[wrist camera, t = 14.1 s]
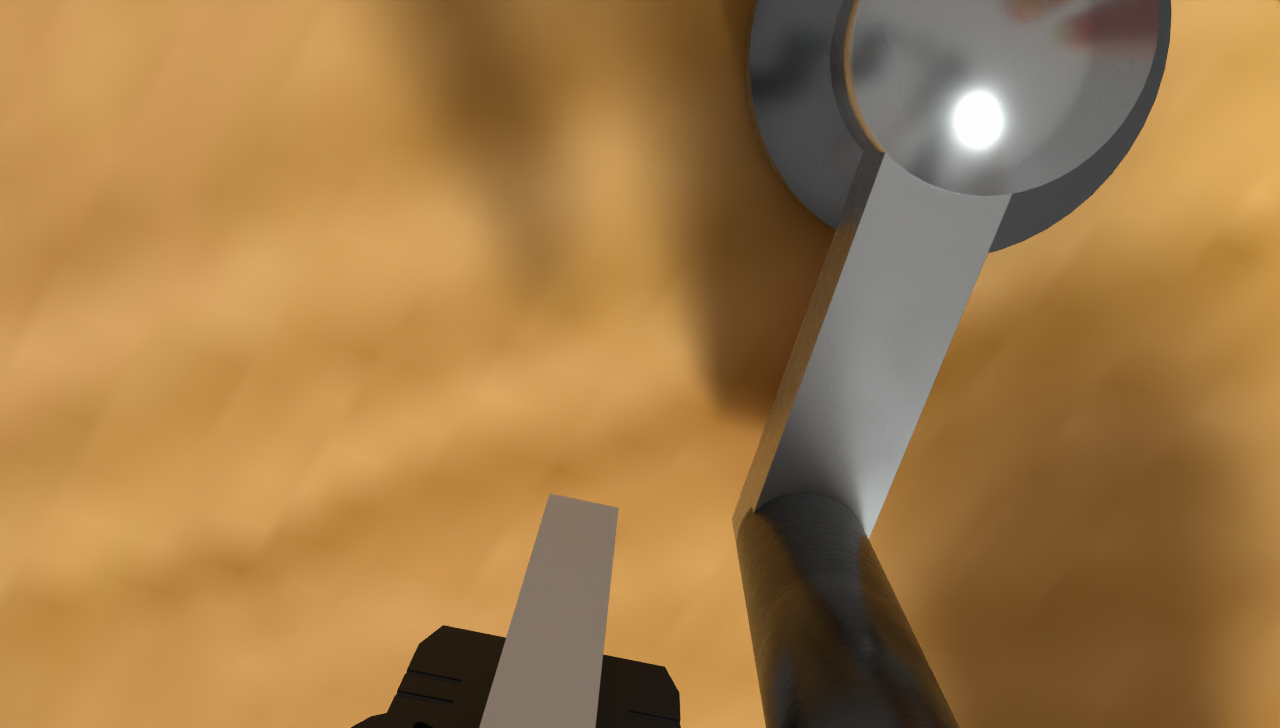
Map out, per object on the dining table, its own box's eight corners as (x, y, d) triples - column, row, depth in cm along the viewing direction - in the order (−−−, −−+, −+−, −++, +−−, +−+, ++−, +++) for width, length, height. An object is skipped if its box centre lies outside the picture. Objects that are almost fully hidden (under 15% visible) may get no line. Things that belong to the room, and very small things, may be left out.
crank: (885, -131, 15) (1358, -673, 5) (1143, -48, 15) (2121, -390, 5) (665, 530, 19) (664, 1011, 9) (873, 587, 19) (1109, 1120, 9)
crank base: (677, 145, 18) (677, 147, 16) (873, -244, 16) (889, -273, 14) (991, 312, 18) (1012, 324, 17) (1219, -36, 16) (1261, -48, 15)
